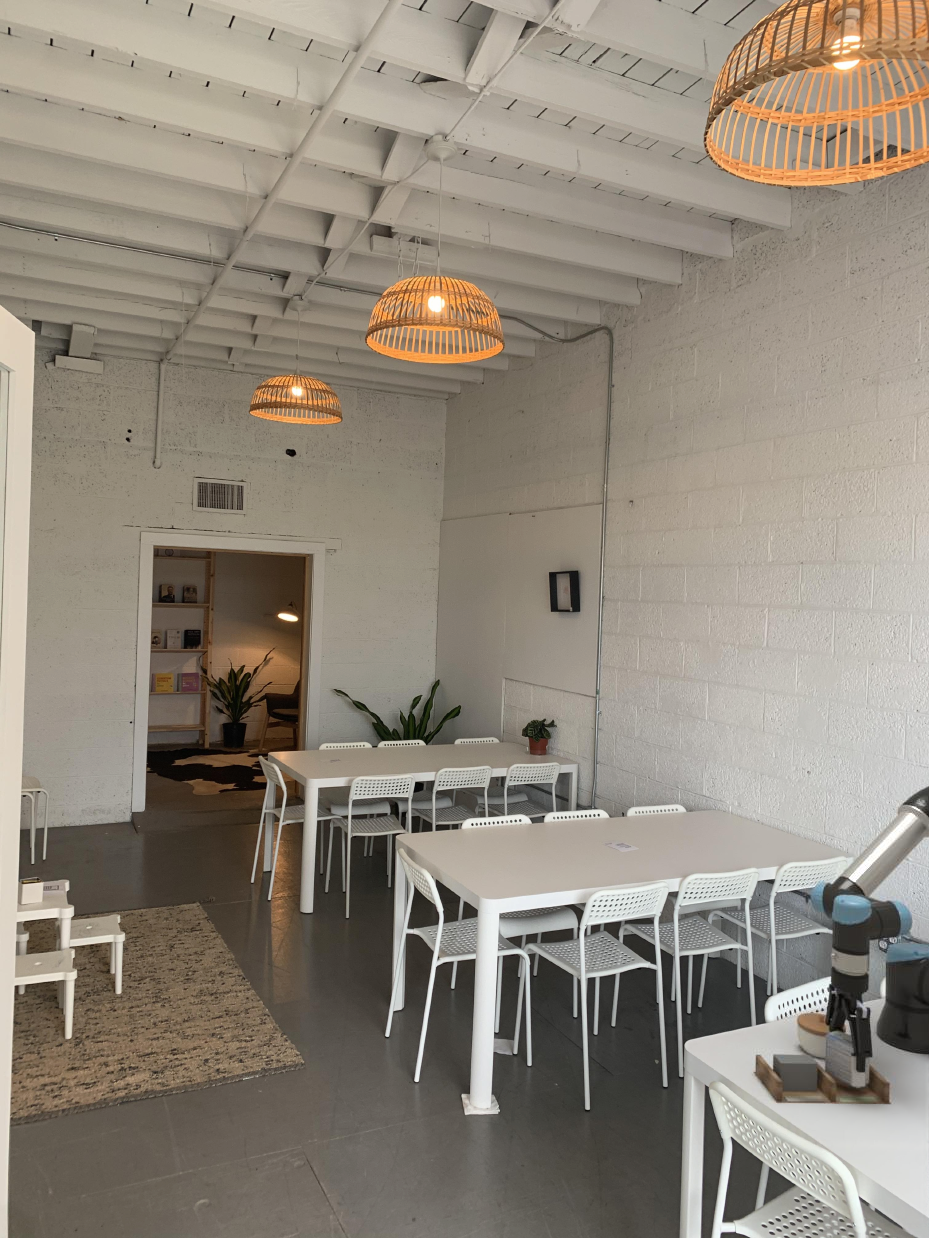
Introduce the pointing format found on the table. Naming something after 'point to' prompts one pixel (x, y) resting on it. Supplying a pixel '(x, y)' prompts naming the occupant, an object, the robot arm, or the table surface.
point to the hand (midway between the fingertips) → (846, 1074)
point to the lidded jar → (813, 1033)
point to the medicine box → (841, 1057)
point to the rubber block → (796, 1072)
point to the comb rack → (825, 1088)
